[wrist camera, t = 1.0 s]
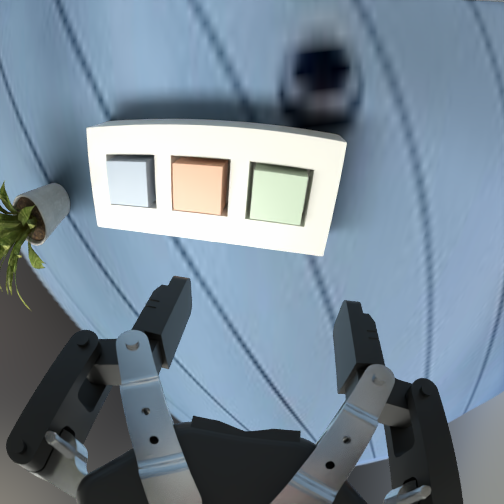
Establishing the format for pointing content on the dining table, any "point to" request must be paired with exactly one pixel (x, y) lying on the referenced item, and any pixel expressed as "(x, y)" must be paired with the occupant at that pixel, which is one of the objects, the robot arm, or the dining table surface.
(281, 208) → the key sage
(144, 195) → the key slate
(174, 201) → the key terracotta
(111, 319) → the dining table surface
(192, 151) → the keypad frame
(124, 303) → the dining table surface
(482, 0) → the coffee box
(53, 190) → the house plant
